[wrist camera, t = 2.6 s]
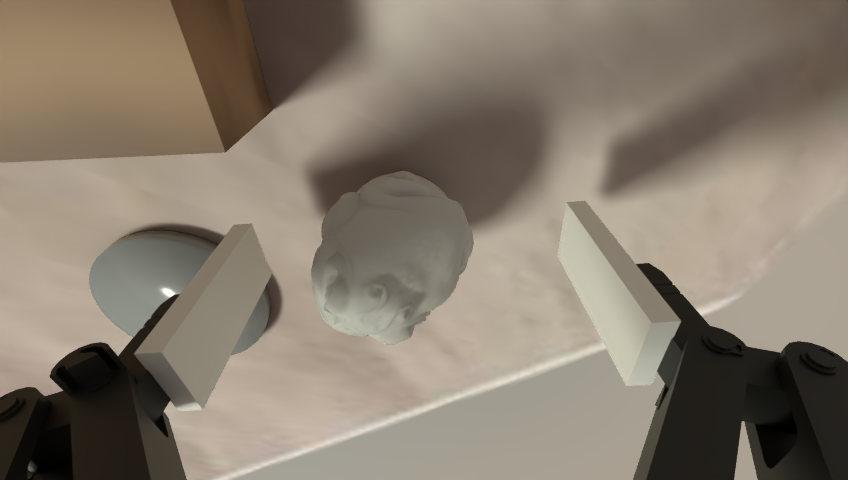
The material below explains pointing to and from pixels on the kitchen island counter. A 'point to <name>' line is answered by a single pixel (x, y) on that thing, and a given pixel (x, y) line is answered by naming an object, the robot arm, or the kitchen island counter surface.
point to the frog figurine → (389, 256)
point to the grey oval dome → (157, 279)
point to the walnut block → (126, 78)
